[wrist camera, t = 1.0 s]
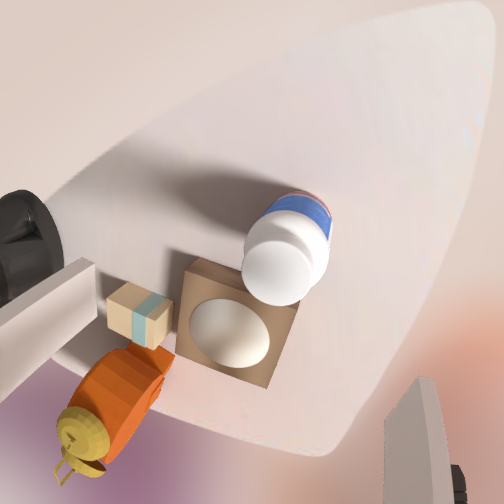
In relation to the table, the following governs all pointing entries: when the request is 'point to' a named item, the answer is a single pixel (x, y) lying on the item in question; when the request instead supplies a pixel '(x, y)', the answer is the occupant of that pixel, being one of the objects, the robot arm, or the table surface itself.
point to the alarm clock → (110, 407)
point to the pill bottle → (287, 249)
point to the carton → (140, 315)
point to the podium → (230, 324)
